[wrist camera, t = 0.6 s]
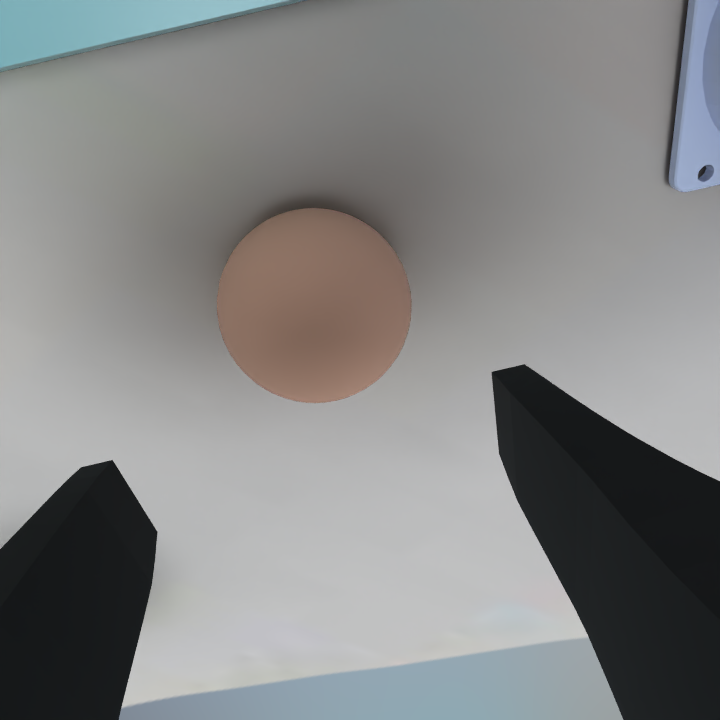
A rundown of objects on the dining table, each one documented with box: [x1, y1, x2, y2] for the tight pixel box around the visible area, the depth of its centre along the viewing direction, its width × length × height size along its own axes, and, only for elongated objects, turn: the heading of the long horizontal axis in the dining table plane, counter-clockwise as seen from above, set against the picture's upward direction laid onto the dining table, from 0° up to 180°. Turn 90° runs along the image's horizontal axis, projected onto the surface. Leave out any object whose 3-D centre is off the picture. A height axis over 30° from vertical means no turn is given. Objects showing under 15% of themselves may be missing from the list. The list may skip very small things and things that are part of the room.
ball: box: [217, 208, 411, 403], centre depth 16 cm, size 6×6×6 cm
